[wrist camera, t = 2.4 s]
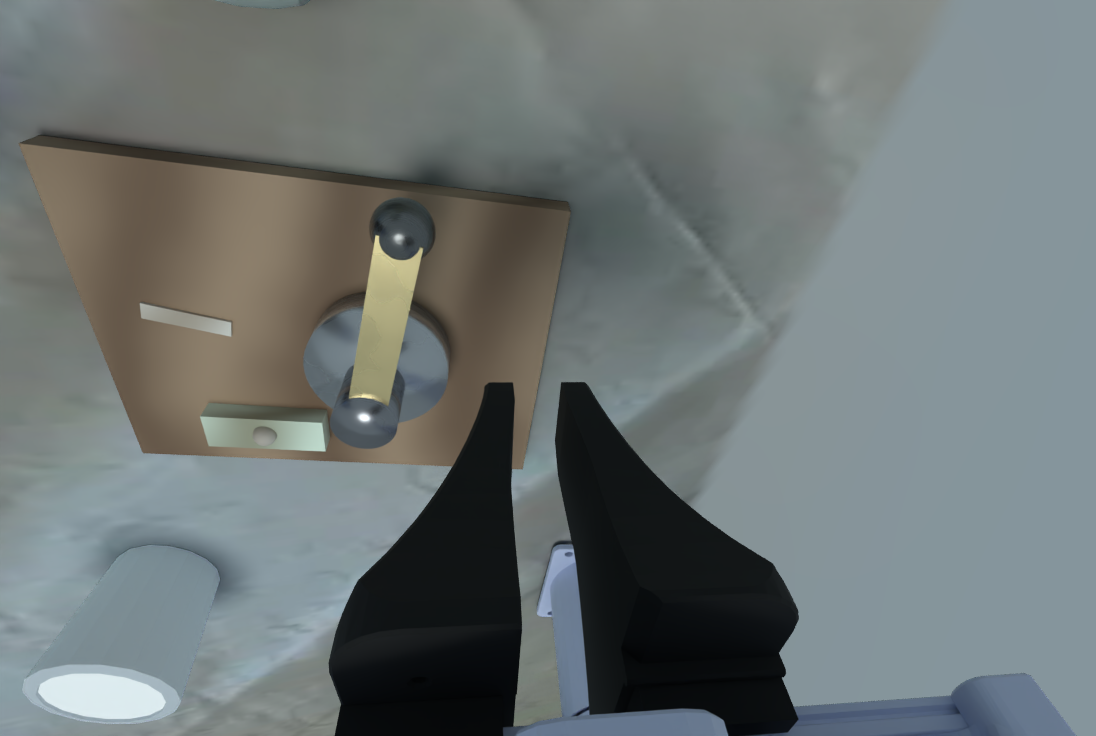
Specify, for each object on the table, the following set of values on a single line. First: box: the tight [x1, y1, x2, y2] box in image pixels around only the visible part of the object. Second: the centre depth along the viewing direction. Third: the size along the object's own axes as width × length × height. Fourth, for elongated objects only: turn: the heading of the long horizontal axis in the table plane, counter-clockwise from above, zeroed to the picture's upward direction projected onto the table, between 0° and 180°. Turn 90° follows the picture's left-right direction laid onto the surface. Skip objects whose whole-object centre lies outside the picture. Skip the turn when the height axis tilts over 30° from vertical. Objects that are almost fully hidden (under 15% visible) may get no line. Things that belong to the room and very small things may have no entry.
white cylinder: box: [22, 545, 220, 724], centre depth 30 cm, size 7×7×7 cm
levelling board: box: [19, 135, 571, 469], centre depth 23 cm, size 18×14×2 cm
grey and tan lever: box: [303, 197, 450, 449], centre depth 20 cm, size 11×6×4 cm, turn 161°
